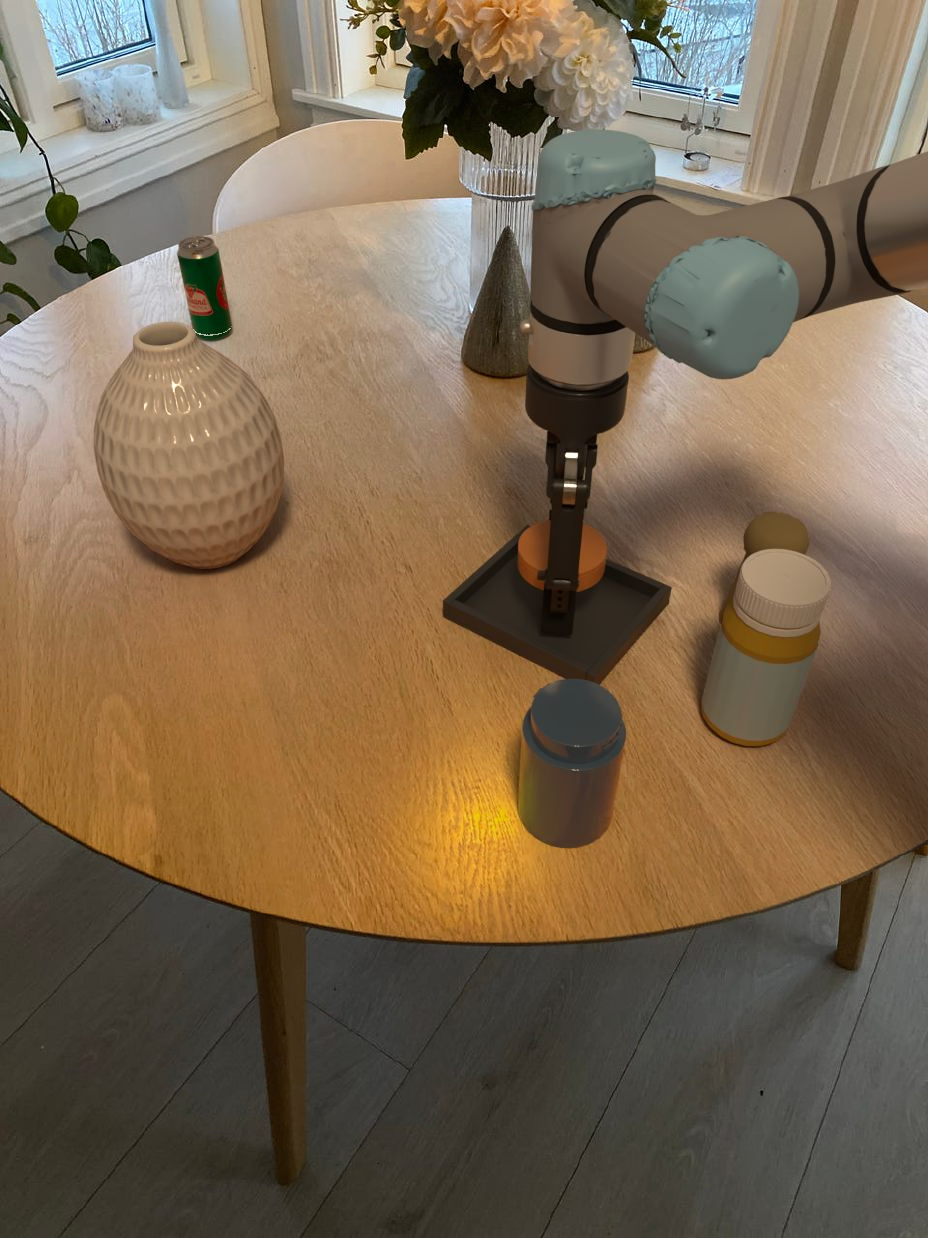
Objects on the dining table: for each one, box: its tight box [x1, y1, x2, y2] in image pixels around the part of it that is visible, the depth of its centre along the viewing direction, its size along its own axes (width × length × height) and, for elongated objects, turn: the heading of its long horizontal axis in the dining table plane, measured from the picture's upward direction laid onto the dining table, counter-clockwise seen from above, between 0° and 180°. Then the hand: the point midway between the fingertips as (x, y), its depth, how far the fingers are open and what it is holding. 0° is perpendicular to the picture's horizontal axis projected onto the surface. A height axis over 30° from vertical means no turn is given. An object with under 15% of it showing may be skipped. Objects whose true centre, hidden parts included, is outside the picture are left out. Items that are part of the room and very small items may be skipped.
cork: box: [718, 511, 810, 625], centre depth 82 cm, size 6×6×11 cm
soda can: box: [176, 235, 233, 342], centre depth 122 cm, size 5×5×12 cm
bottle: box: [700, 549, 832, 747], centre depth 72 cm, size 7×7×15 cm
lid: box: [517, 519, 608, 592], centre depth 82 cm, size 8×8×2 cm
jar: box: [517, 678, 627, 849], centre depth 67 cm, size 7×7×11 cm
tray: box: [442, 524, 673, 686], centre depth 86 cm, size 16×14×2 cm
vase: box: [93, 321, 285, 570], centre depth 86 cm, size 16×16×22 cm
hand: (558, 598), depth 86 cm, fingers closed on lid, 7 cm apart
